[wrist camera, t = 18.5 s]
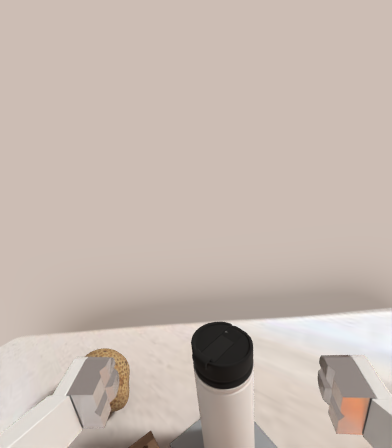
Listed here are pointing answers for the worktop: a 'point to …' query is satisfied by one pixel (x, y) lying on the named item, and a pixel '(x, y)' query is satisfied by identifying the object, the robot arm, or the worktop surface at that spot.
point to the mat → (193, 442)
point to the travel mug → (224, 385)
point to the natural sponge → (123, 372)
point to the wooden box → (146, 442)
